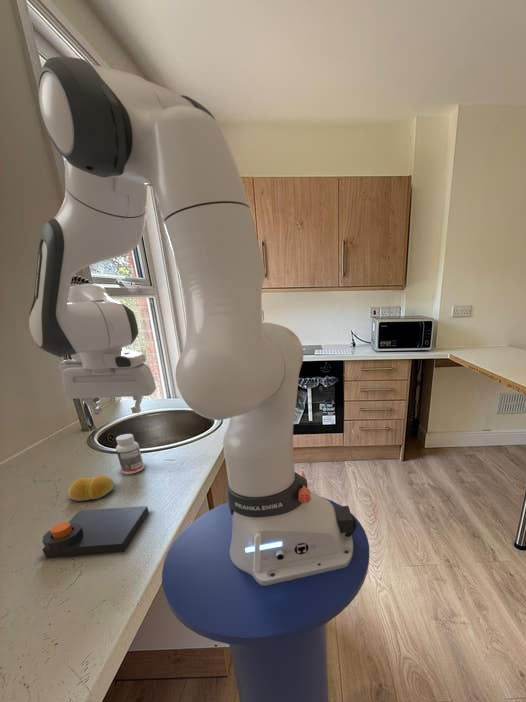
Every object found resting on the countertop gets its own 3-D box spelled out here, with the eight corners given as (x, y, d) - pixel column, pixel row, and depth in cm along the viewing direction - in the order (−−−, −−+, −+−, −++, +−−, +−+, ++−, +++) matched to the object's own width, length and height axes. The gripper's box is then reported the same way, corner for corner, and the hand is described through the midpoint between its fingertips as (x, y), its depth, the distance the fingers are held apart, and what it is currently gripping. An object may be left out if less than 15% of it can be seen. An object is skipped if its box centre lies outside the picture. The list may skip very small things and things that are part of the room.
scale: (149, 513, 76) (145, 499, 74) (123, 553, 64) (118, 538, 63) (80, 517, 75) (75, 504, 73) (41, 559, 63) (34, 544, 62)
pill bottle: (124, 467, 96) (115, 434, 92) (145, 463, 97) (137, 431, 94) (120, 476, 91) (110, 442, 87) (143, 472, 93) (134, 439, 89)
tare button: (75, 528, 66) (73, 521, 66) (66, 538, 64) (63, 531, 63) (59, 529, 66) (56, 522, 66) (49, 539, 63) (46, 532, 63)
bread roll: (111, 497, 82) (106, 483, 80) (67, 505, 79) (61, 490, 78) (118, 480, 89) (114, 466, 87) (77, 487, 86) (73, 473, 85)
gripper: (48, 362, 79) (67, 419, 84) (141, 359, 80) (153, 415, 86) (65, 357, 85) (81, 410, 90) (151, 354, 86) (162, 407, 91)
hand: (117, 413), depth 88 cm, fingers open, 8 cm apart
